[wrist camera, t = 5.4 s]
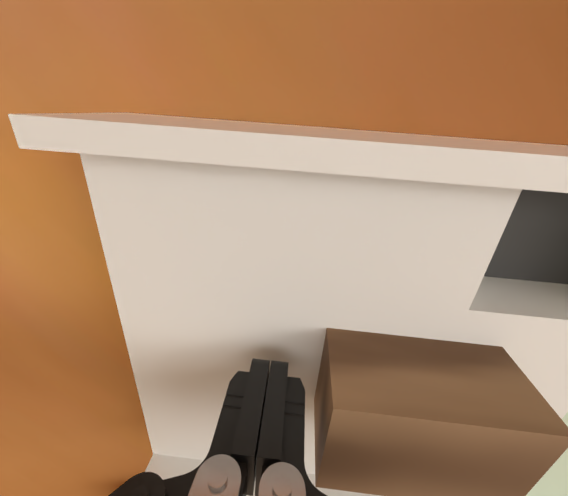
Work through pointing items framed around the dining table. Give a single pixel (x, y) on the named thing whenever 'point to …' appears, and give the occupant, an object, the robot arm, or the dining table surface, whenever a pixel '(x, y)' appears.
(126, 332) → the box
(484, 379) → the walnut block
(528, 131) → the dining table surface
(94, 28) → the dining table surface
